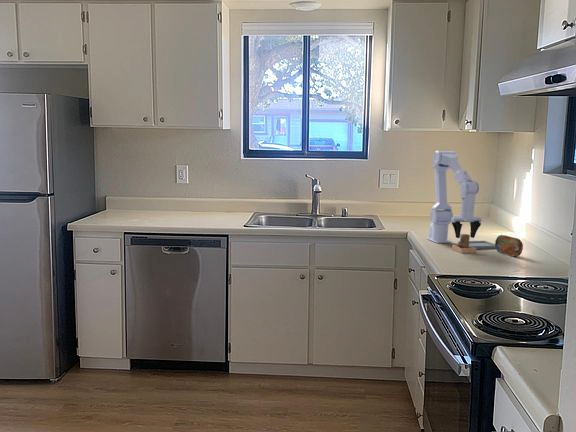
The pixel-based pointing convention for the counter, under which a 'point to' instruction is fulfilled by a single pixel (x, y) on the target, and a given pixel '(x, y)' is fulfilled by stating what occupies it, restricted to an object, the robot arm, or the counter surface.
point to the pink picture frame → (464, 249)
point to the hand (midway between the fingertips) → (465, 237)
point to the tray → (481, 244)
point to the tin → (509, 245)
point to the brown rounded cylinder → (464, 241)
